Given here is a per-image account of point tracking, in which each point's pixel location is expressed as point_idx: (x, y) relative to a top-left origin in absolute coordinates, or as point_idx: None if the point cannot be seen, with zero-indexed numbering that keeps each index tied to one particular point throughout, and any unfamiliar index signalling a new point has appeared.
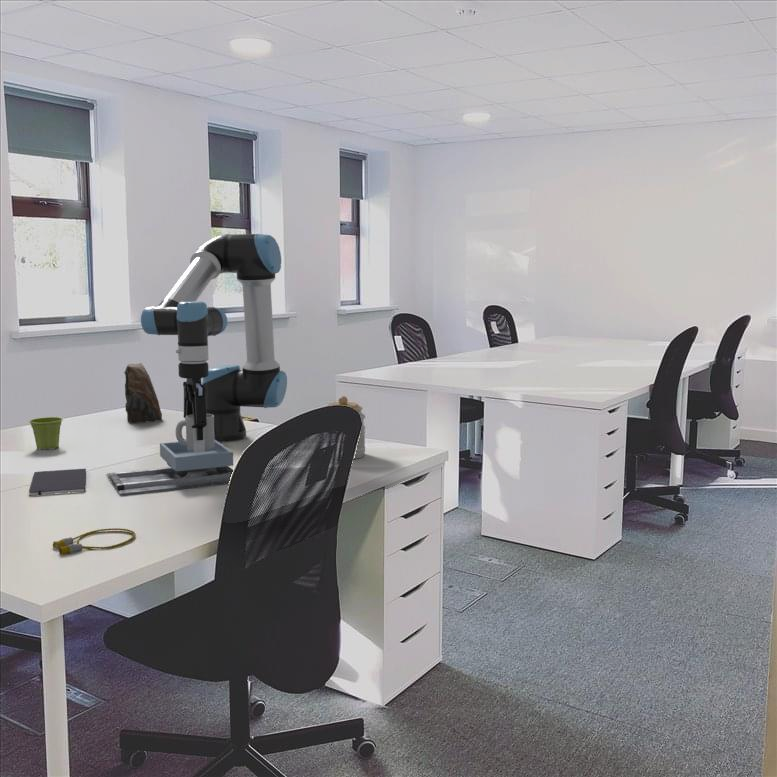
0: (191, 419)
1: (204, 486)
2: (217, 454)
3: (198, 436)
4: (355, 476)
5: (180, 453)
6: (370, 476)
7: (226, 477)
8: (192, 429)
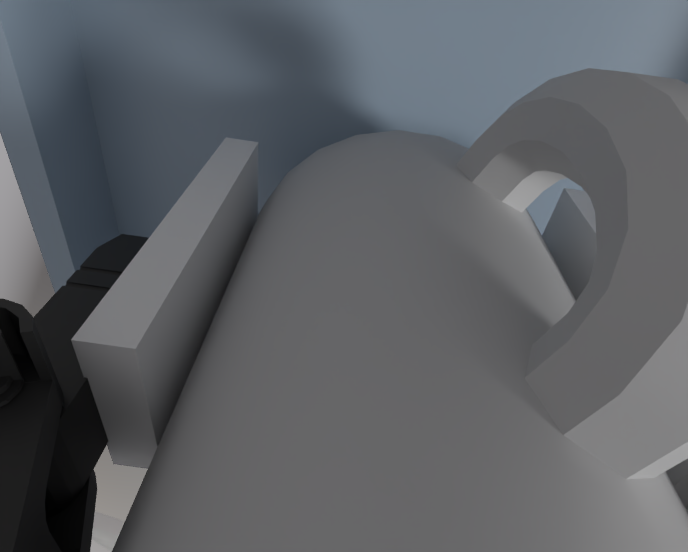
0: (194, 526)
1: None
2: (53, 269)
3: (82, 275)
4: (118, 519)
5: None
6: (107, 534)
7: None
8: (249, 324)
